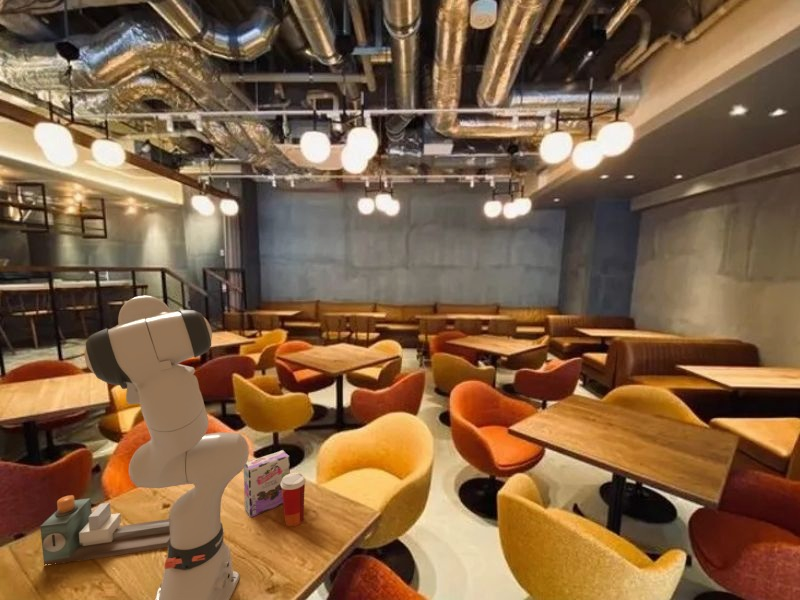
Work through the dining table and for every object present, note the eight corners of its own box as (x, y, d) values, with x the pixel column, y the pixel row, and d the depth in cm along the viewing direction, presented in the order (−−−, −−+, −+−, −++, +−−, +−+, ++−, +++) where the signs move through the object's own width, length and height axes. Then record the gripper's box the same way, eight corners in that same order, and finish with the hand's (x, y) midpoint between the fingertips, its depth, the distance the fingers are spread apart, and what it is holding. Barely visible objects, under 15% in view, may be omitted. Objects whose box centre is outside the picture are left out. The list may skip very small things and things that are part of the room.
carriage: (109, 544, 105) (106, 515, 105) (80, 549, 104) (77, 519, 103) (121, 528, 112) (119, 500, 111) (94, 531, 111) (92, 503, 110)
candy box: (250, 518, 119) (248, 469, 118) (244, 509, 124) (242, 462, 122) (291, 501, 128) (289, 455, 126) (284, 493, 132) (283, 448, 131)
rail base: (166, 548, 106) (164, 509, 105) (42, 567, 100) (38, 526, 99) (181, 521, 118) (178, 486, 117) (70, 537, 111) (66, 499, 110)
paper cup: (297, 509, 123) (296, 469, 122) (311, 519, 119) (310, 477, 117) (276, 521, 117) (274, 479, 116) (290, 532, 113) (289, 488, 111)
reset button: (69, 512, 104) (69, 502, 104) (54, 514, 103) (53, 504, 103) (77, 504, 107) (77, 494, 107) (63, 506, 107) (62, 496, 106)
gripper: (120, 377, 113) (123, 421, 115) (193, 373, 118) (196, 415, 119) (130, 371, 120) (133, 413, 121) (199, 367, 124) (201, 407, 125)
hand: (165, 414), depth 120 cm, fingers open, 8 cm apart
